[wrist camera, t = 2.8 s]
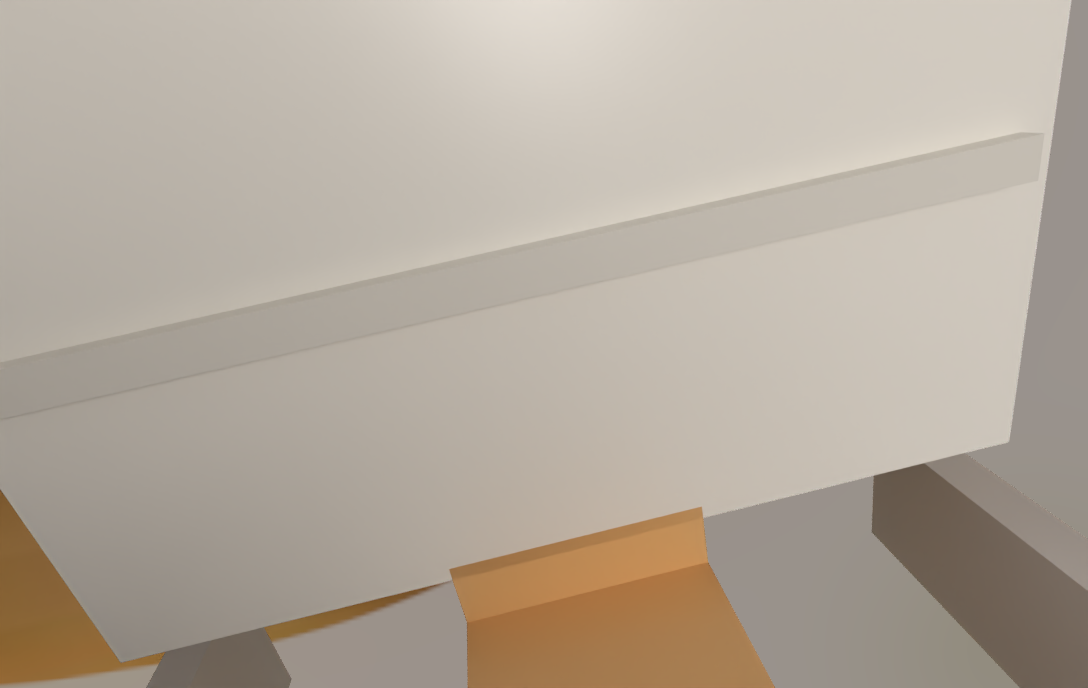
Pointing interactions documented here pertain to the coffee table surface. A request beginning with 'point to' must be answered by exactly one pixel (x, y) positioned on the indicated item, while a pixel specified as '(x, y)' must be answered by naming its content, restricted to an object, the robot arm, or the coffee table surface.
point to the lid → (497, 299)
